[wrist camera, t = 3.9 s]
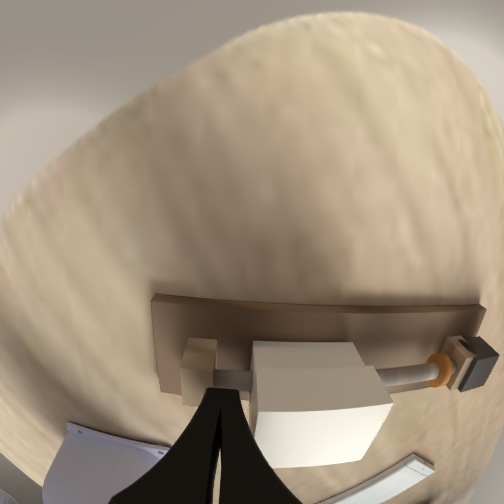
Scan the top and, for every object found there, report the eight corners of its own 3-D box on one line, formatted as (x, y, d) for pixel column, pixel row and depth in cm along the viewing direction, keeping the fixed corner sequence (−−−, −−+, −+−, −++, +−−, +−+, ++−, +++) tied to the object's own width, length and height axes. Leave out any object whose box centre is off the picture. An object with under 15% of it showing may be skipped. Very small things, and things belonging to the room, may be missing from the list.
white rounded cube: (247, 392, 14) (249, 468, 10) (254, 331, 13) (258, 411, 8) (336, 391, 15) (360, 460, 10) (354, 333, 13) (393, 402, 9)
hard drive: (350, 518, 23) (436, 472, 20) (314, 512, 21) (416, 460, 19) (348, 508, 24) (432, 462, 22) (312, 500, 23) (411, 449, 20)
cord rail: (163, 383, 15) (149, 427, 12) (155, 293, 14) (131, 332, 10) (449, 375, 16) (472, 405, 13) (479, 304, 15) (511, 329, 11)
